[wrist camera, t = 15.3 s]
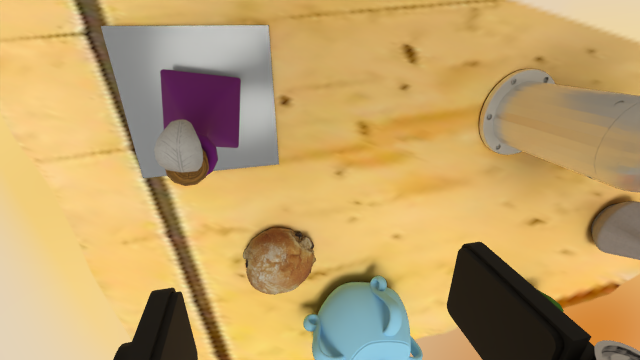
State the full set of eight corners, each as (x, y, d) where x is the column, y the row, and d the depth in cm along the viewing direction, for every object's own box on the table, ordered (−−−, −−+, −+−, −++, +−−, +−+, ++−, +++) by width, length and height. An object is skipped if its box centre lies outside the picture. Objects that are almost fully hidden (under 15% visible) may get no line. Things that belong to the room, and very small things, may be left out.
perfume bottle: (238, 139, 37) (239, 214, 21) (170, 135, 35) (115, 214, 19) (240, 74, 34) (244, 105, 18) (166, 66, 32) (99, 92, 16)
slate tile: (267, 25, 34) (268, 25, 33) (278, 161, 41) (278, 164, 40) (104, 26, 31) (100, 26, 30) (145, 174, 37) (143, 177, 36)
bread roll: (250, 216, 47) (225, 250, 40) (315, 219, 45) (301, 255, 38) (261, 267, 51) (240, 305, 44) (321, 271, 49) (309, 312, 42)
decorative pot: (400, 316, 59) (442, 386, 47) (324, 352, 58) (347, 433, 46) (381, 255, 52) (425, 320, 40) (293, 296, 51) (311, 375, 39)
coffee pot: (641, 202, 63) (748, 245, 50) (605, 248, 67) (696, 300, 53) (578, 176, 55) (685, 219, 42) (541, 229, 59) (629, 284, 46)
